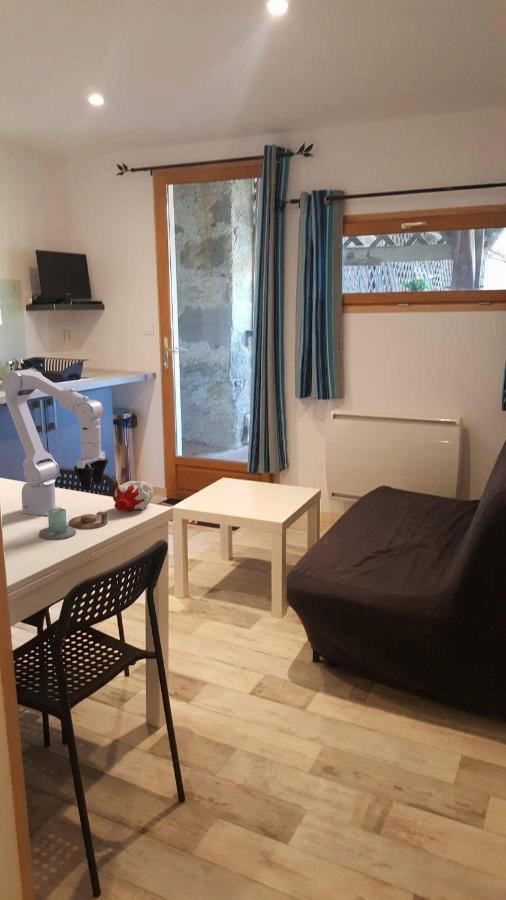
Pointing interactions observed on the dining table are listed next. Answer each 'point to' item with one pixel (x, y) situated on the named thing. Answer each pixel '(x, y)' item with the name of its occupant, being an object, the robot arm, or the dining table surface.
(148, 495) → the multicoloured piece
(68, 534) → the coaster
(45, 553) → the dining table surface
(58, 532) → the kettle
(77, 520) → the tan wide-brim hat
